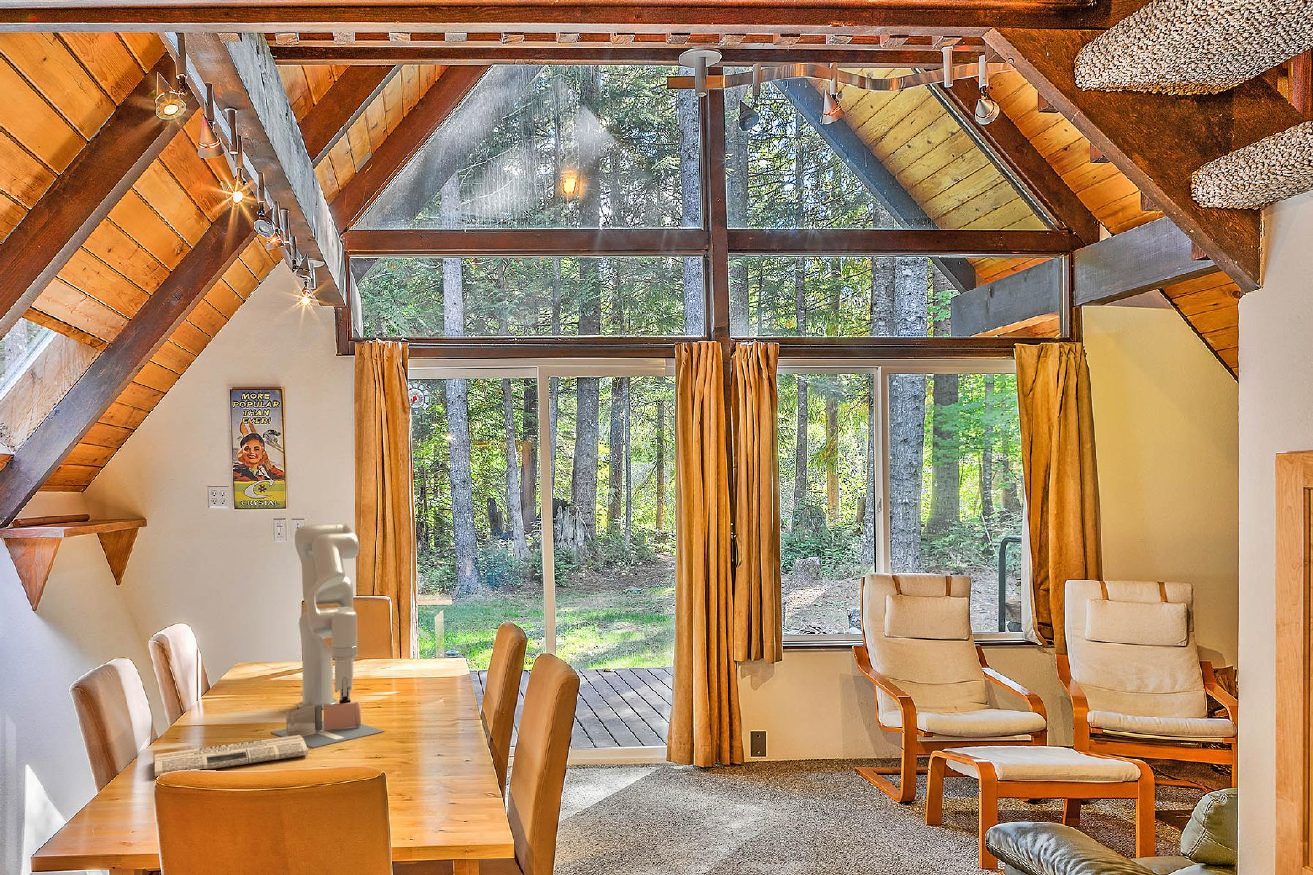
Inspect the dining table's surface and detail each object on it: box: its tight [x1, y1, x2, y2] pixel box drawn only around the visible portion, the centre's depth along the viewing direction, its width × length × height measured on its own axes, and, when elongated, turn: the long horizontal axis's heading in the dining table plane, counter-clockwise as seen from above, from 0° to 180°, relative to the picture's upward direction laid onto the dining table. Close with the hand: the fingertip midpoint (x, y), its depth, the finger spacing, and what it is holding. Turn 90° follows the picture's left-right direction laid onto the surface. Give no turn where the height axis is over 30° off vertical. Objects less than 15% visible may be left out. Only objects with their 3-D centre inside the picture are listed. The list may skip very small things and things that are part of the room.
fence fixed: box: [285, 707, 315, 737], centre depth 292 cm, size 2×8×8 cm, turn 136°
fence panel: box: [315, 701, 362, 731], centre depth 298 cm, size 13×2×7 cm, turn 109°
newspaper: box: [154, 735, 309, 778], centre depth 270 cm, size 37×19×3 cm, turn 117°
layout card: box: [270, 720, 385, 749], centre depth 296 cm, size 26×24×1 cm
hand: (345, 713), depth 302 cm, fingers closed
